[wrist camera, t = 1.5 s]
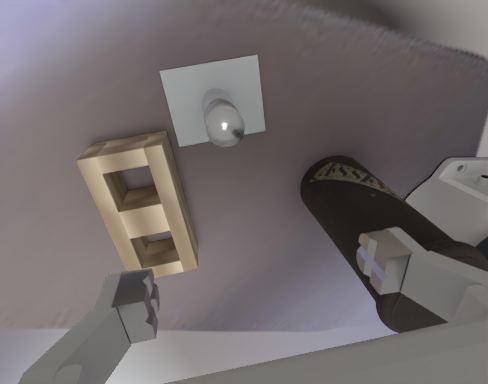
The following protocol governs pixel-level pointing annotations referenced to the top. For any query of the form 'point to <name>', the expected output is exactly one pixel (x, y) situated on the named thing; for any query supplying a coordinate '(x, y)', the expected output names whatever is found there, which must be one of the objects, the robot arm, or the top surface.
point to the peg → (222, 119)
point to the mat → (204, 79)
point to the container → (373, 219)
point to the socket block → (142, 203)
